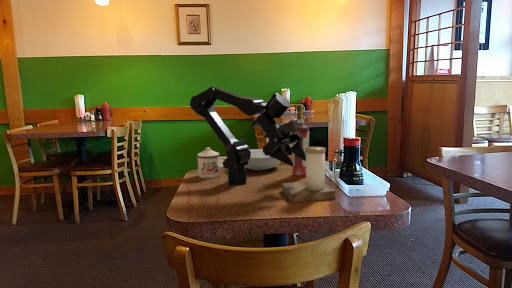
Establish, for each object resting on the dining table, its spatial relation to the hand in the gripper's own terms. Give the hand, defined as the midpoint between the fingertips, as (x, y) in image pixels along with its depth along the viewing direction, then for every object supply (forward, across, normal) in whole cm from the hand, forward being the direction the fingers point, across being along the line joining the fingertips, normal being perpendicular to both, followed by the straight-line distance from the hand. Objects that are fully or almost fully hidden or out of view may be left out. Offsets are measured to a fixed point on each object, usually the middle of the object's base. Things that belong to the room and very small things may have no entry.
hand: (299, 162), depth 121 cm
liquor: (0, +21, +15) cm, 26 cm away
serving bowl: (-16, +25, +31) cm, 43 cm away
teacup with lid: (-22, +4, +38) cm, 44 cm away
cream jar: (+10, 0, +2) cm, 10 cm away
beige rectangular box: (+9, 0, +5) cm, 11 cm away
